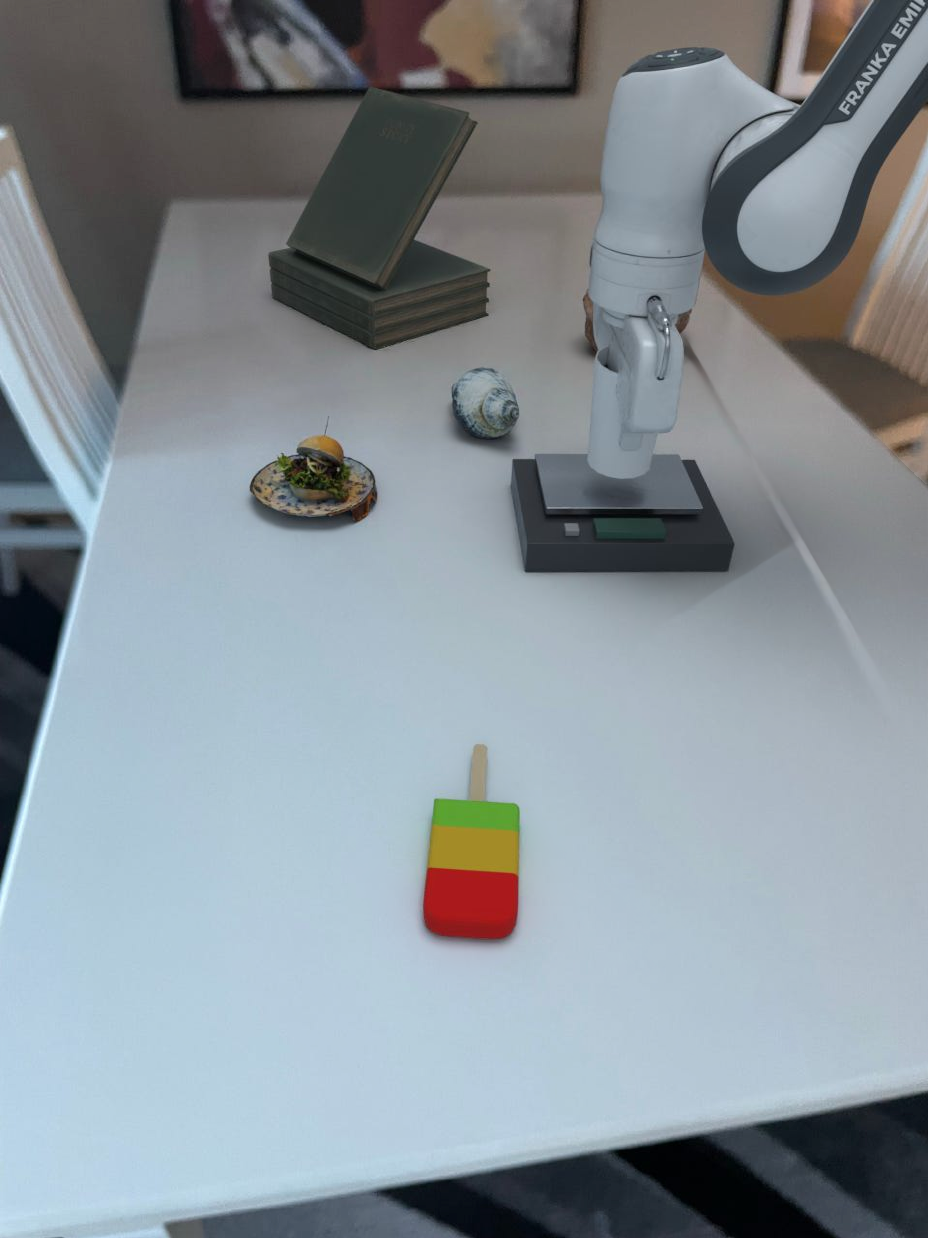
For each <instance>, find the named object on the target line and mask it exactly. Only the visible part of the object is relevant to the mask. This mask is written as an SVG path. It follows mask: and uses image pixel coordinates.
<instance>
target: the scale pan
mask: <svg viewBox="0 0 928 1238" xmlns="http://www.w3.org/2000/svg"><path fill="white" fill-rule="evenodd" d="M587 457H588V453H535V454H534V458H533V459H534V460H535V465H536V470H537V474H538V479H539V484H540V489H541V493H542V498H543V503H544V507H545V512H546V514H690V515H701V514H702V512H703V507H702V504H701V502H700V500H699V498H698V496H697V493H696V491H695V489H694V487H693V485H692V482H691V480H690V478H689V476H688V473H687V471H686V469H685V467H684V465H683V462H682V460H683V459H682V458H681V456H680V454H678V453H677V454H676V453H674V454H673V453H668V454H667V453H662V454H661V453H660V454H659V453H653V456H652V460H651V464H650V469H649V470H648V471H647V472H646V473H645V474H644V475H641V476H638V477H635V478H625V479H620V478H613V477H608V476H605V475H603V474H600V473H598V472H597V471H595V470H594V469H593V468H591V467H590V465H589V463H588V461H587Z"/></svg>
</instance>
